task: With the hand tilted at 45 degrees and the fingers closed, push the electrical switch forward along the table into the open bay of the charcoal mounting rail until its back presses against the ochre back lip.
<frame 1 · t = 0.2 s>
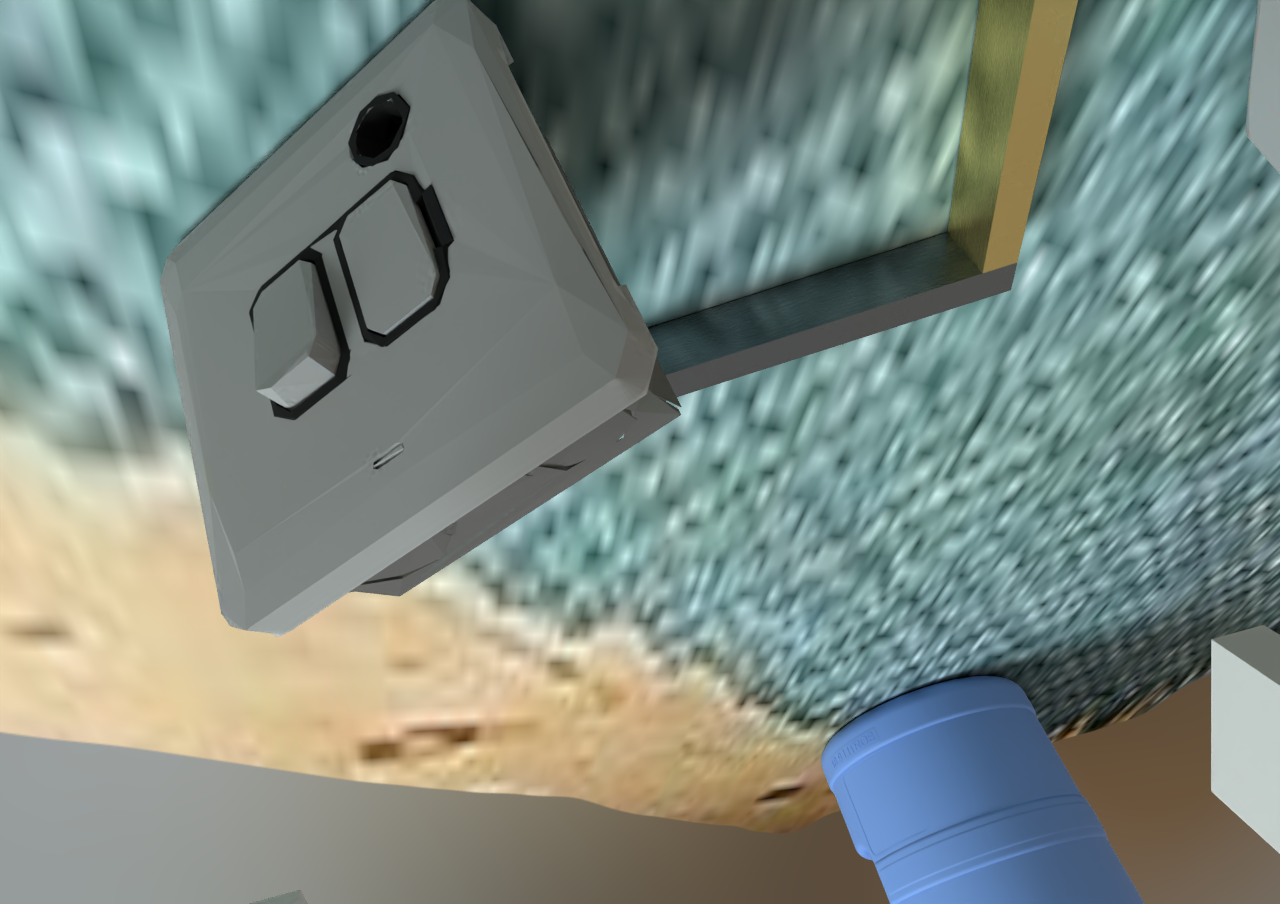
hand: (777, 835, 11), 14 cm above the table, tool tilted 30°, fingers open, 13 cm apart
electrical switch: (400, 199, 18), on the table
water jug: (914, 717, 59), on the table
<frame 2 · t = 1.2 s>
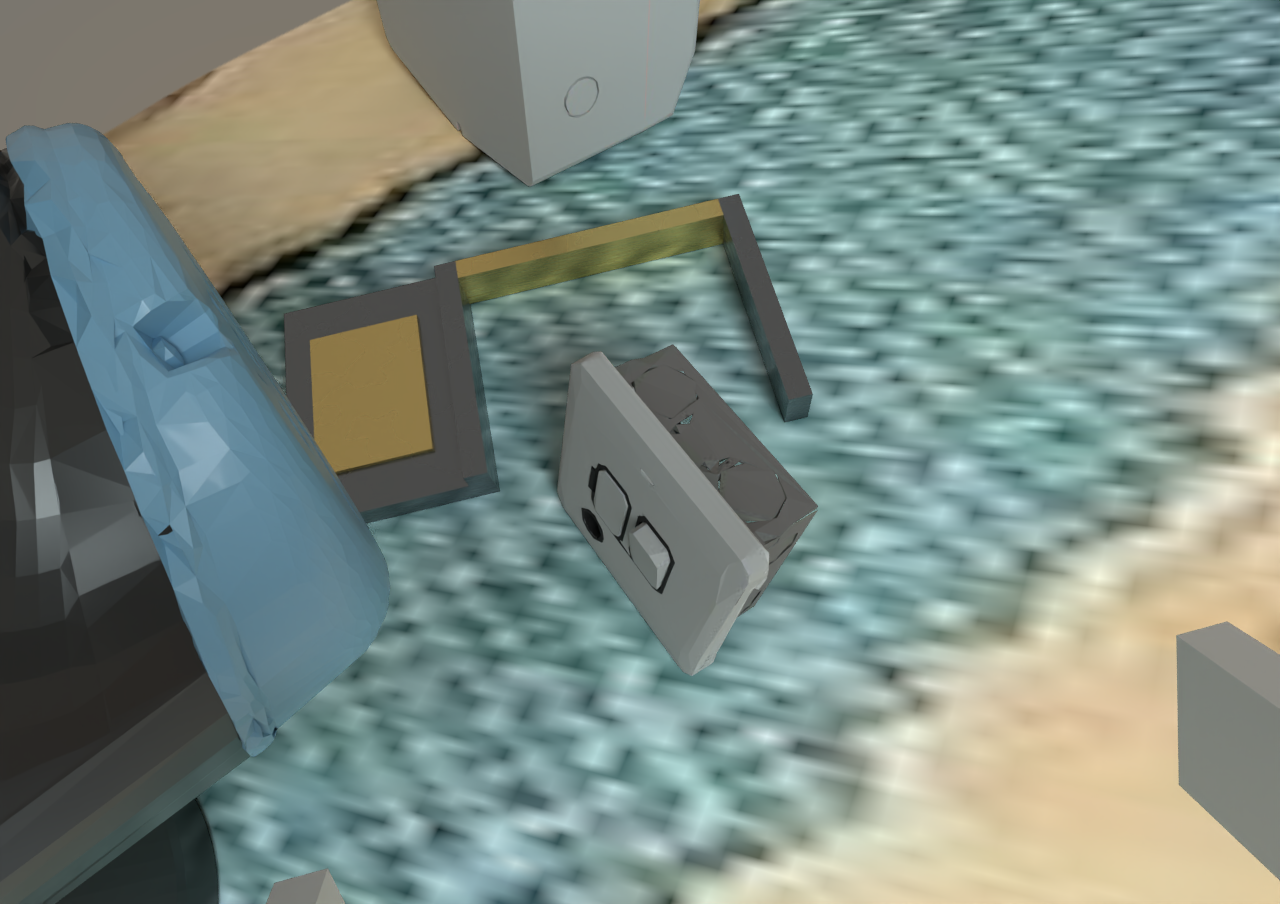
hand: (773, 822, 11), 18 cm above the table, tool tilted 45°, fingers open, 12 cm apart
electrical switch: (670, 544, 32), on the table
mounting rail: (536, 369, 36), on the table
electrical switch box: (581, 63, 44), on the table
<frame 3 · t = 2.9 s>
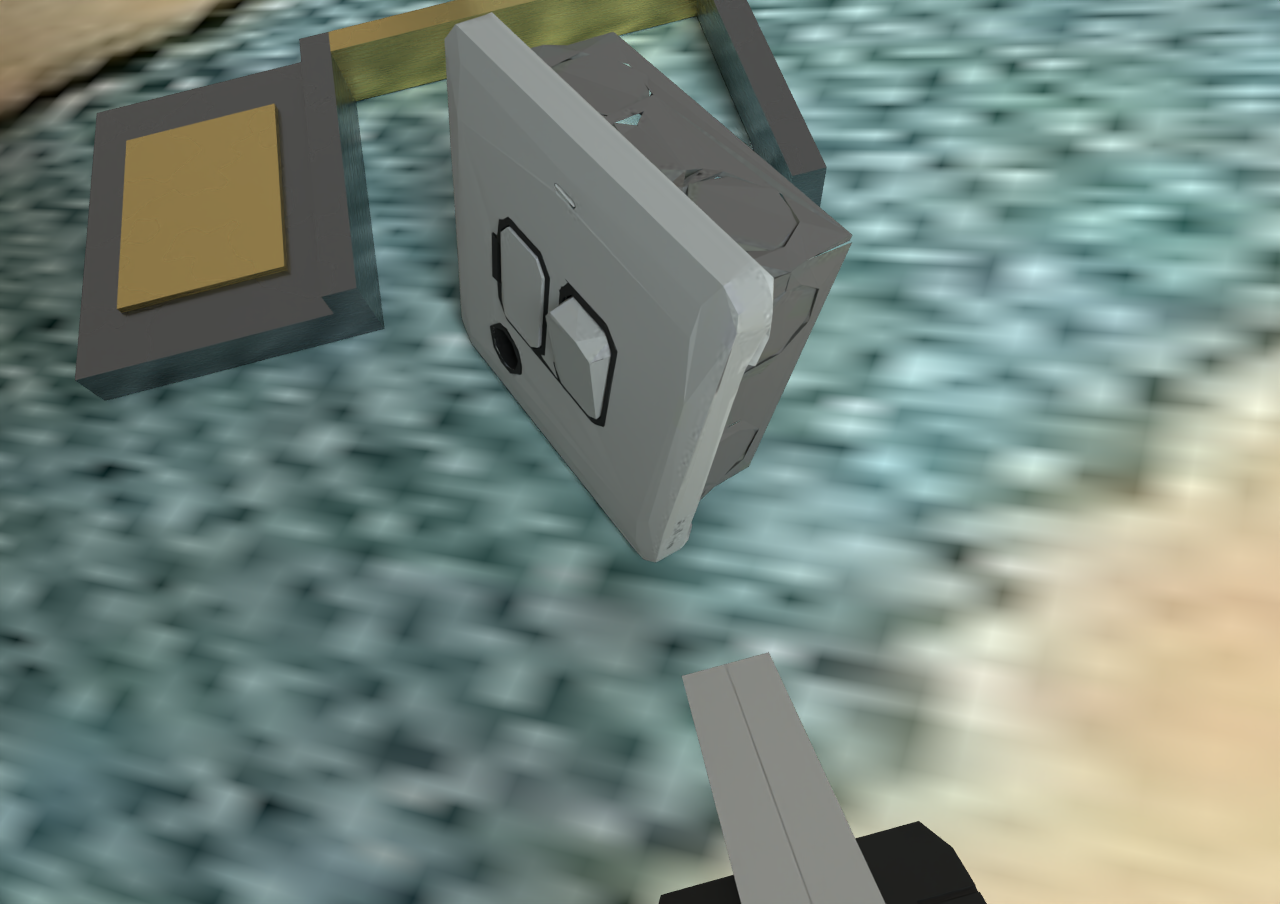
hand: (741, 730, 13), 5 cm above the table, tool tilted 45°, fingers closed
electrical switch: (626, 390, 22), on the table
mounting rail: (441, 175, 26), on the table
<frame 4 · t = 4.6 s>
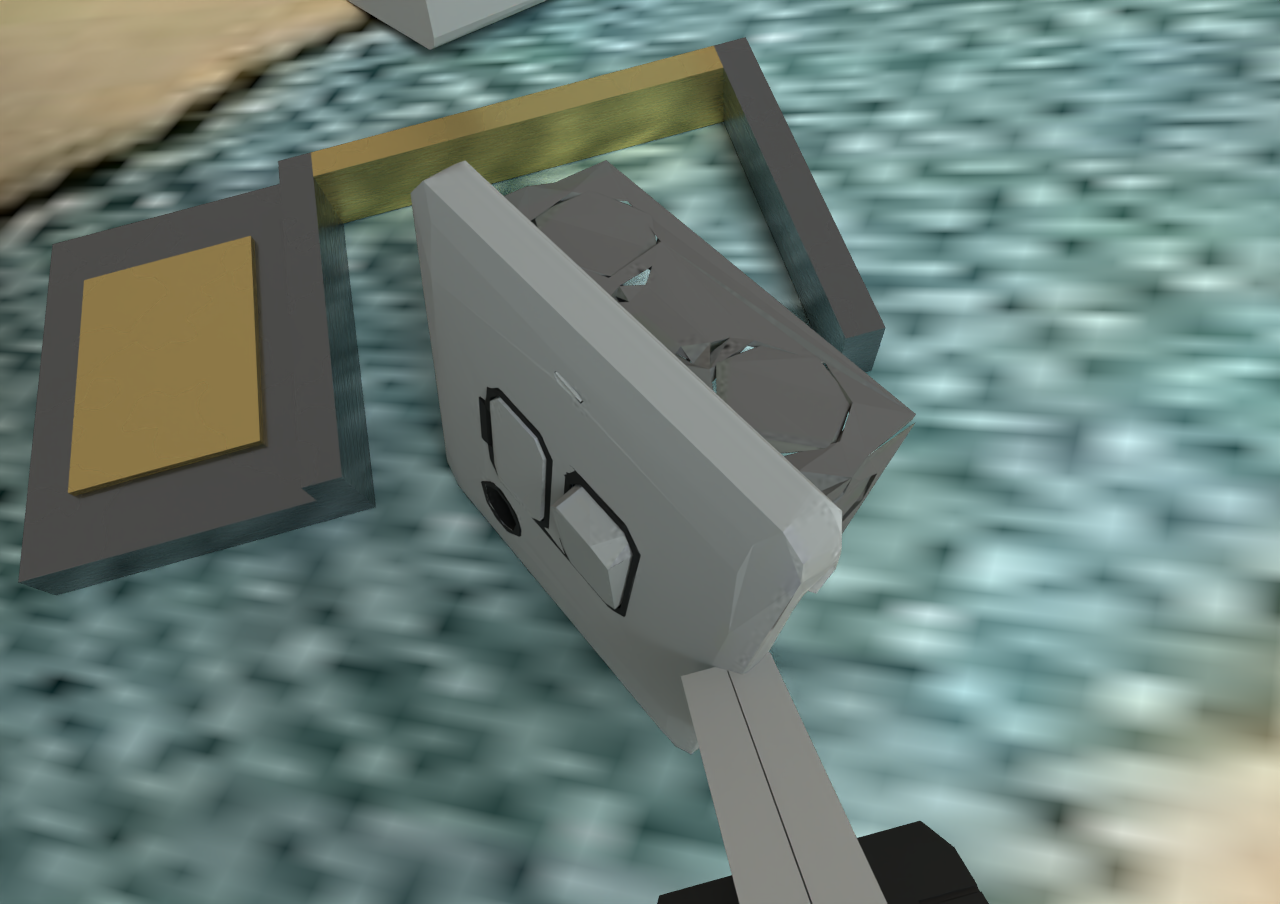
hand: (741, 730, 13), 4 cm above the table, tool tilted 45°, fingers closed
electrical switch: (638, 531, 20), on the table, touching gripper
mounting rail: (439, 315, 23), on the table
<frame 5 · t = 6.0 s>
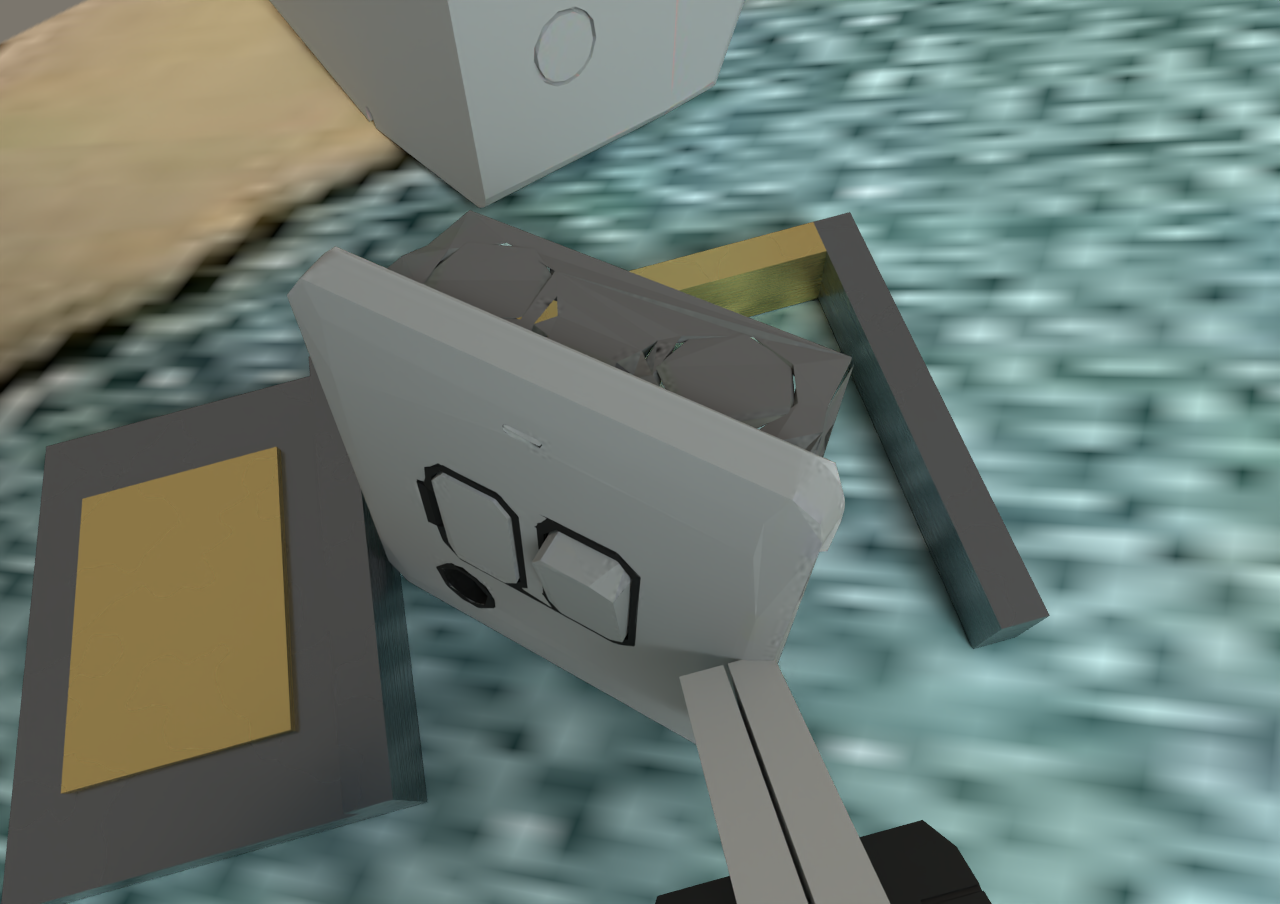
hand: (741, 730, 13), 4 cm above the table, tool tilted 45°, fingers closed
electrical switch: (603, 563, 19), on the table, touching gripper
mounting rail: (496, 541, 20), on the table
electrical switch box: (564, 13, 28), on the table
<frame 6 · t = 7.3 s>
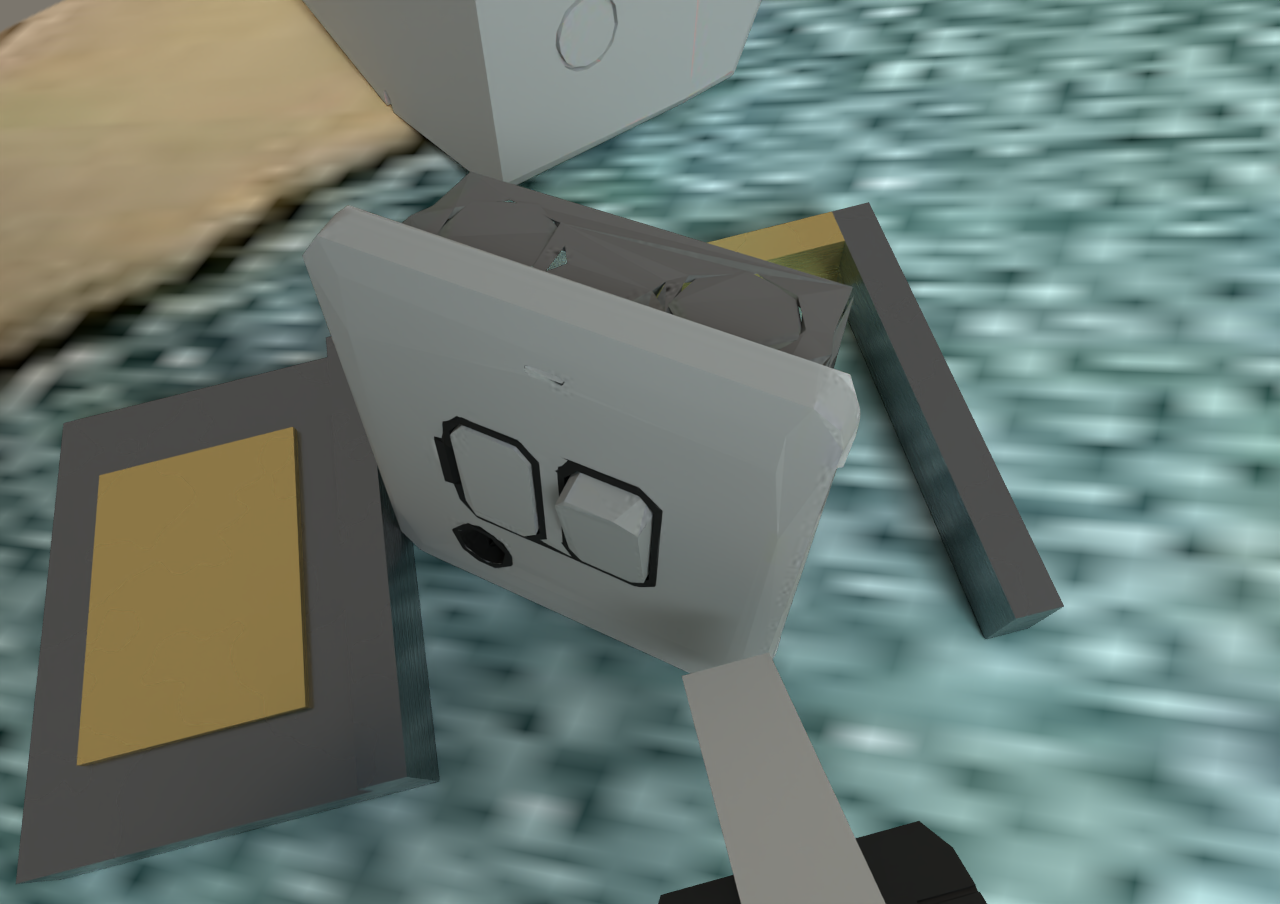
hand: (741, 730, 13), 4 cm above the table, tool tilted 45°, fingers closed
electrical switch: (612, 521, 20), on the table
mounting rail: (510, 525, 20), on the table
electrical switch box: (583, 0, 28), on the table
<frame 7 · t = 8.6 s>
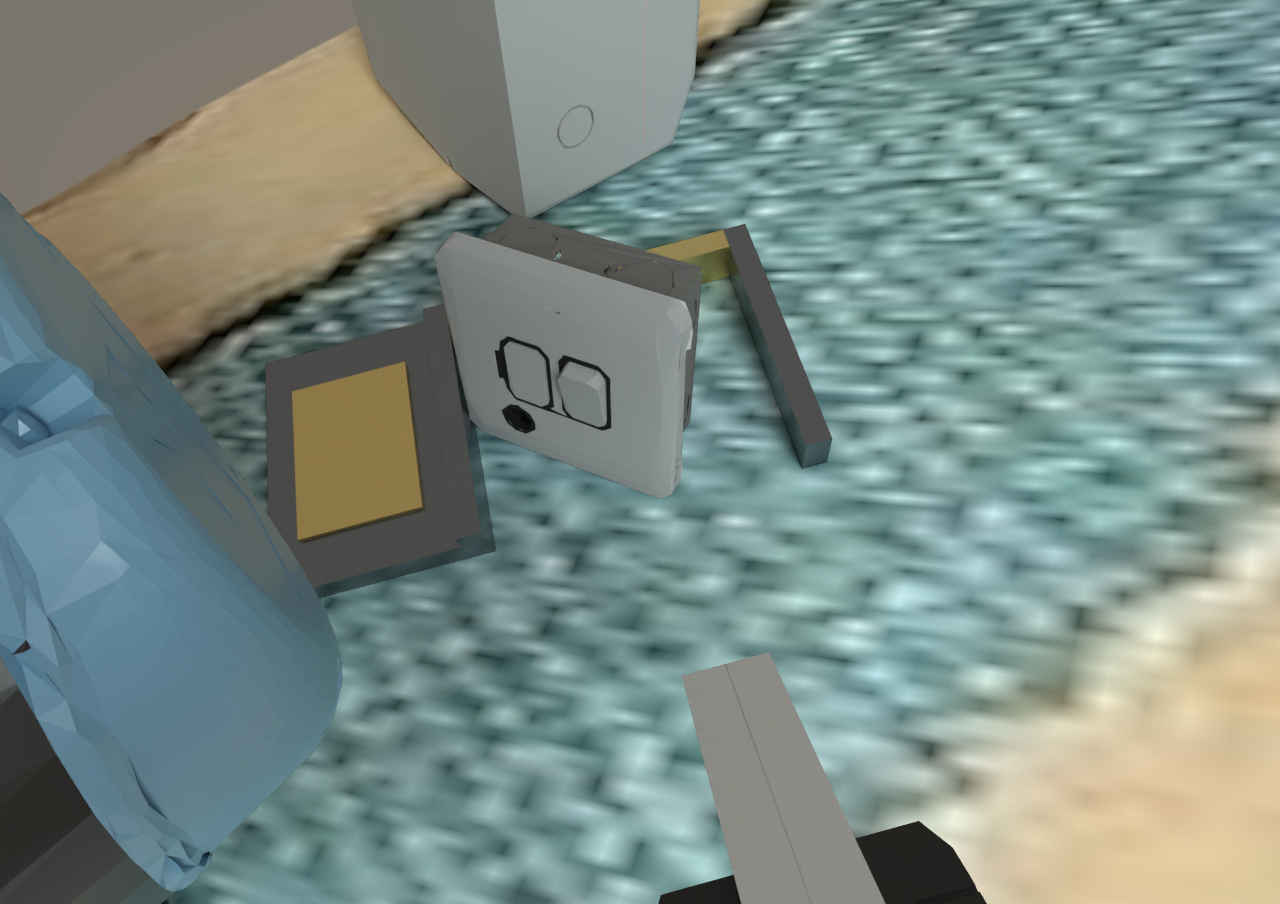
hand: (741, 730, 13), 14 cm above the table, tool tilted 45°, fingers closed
electrical switch: (593, 414, 33), on the table
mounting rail: (533, 417, 33), on the table
electrical switch box: (576, 92, 42), on the table
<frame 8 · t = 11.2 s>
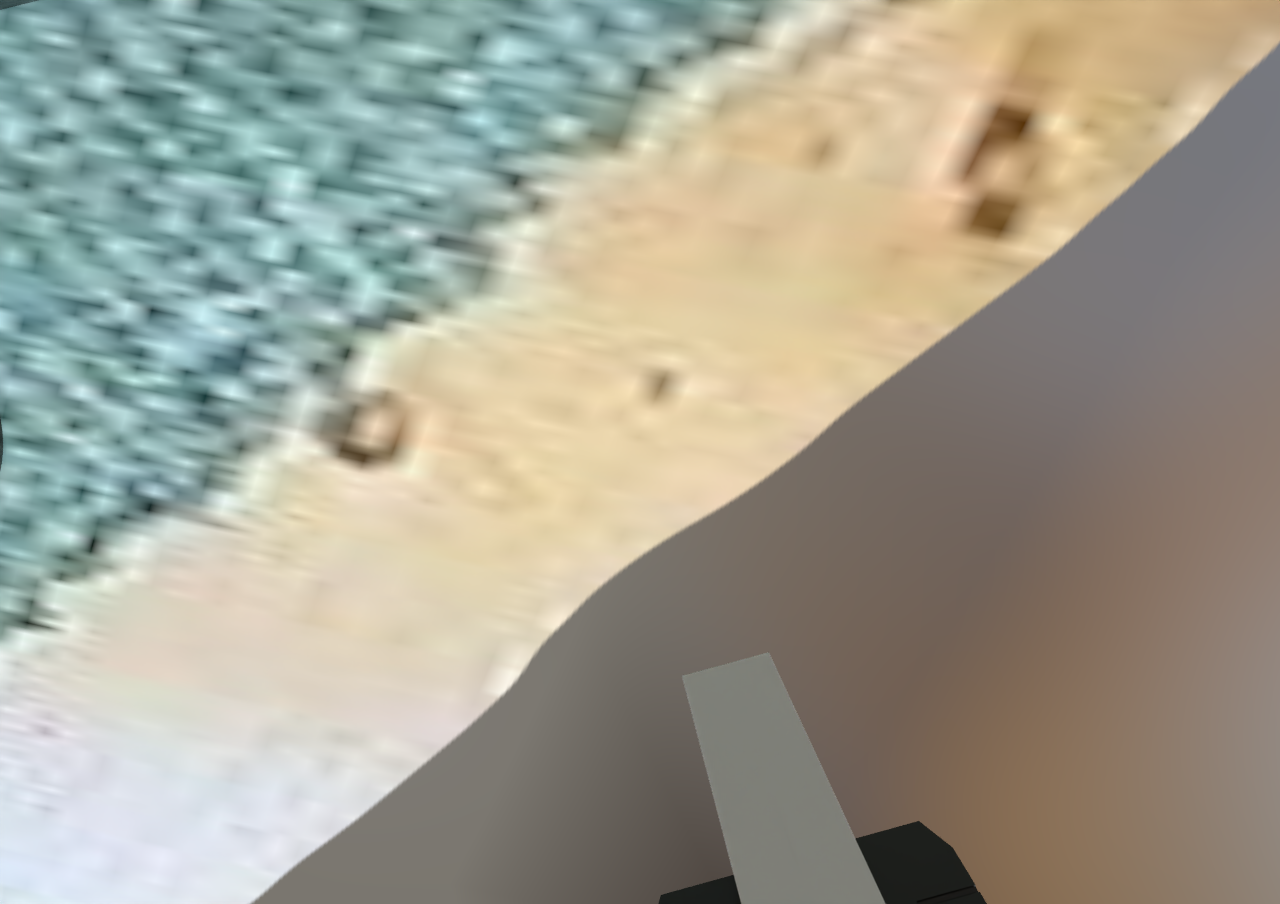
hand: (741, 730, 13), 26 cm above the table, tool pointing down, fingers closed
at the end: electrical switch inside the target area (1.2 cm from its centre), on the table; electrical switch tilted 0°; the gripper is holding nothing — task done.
